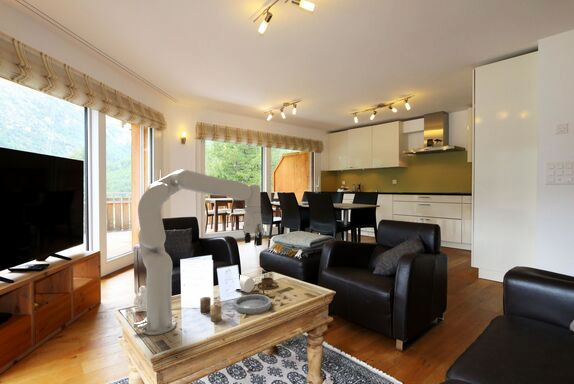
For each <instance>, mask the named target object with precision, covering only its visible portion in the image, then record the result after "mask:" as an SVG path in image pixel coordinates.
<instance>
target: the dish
mask: <svg viewBox="0 0 574 384" xmlns="http://www.w3.org/2000/svg"><path fill="white" fill-rule="evenodd" d="M271 307H272V298H270V297H269V296H267V295H265V294H264V295H263V294H257V293H256V294H255V293H254V294H253V293H252V294H246V295H241V296H239V297H237V298H235V299H234V300H233V307H232V308H233V309H234V310H235V312H238V313H241V314H247V315H252V314H260V313H263V312H266V311H268V310H269V309H270V308H271Z"/></svg>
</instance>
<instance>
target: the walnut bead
mask: <svg viewBox="0 0 574 384" xmlns="http://www.w3.org/2000/svg"><path fill="white" fill-rule="evenodd" d="M199 301H200V303H199V304H200V305H199V307H200V310H199V311H200V312H201V314H202V313H206V314H210V313H211V303H212V302H211V297H210V296H204V297H201V298H200V300H199Z"/></svg>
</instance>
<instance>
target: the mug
mask: <svg viewBox="0 0 574 384" xmlns="http://www.w3.org/2000/svg"><path fill="white" fill-rule="evenodd" d="M239 275H240V286H241V290H240V291H242V292H245V293H251V292H252V291H253V289H254V287H255V286H254V284H256V282H257V280H256V279H254V278H252V277H249V276H246V275H243V274H242V275H241V274H239Z"/></svg>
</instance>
